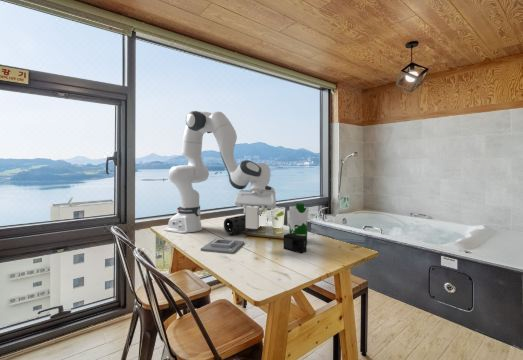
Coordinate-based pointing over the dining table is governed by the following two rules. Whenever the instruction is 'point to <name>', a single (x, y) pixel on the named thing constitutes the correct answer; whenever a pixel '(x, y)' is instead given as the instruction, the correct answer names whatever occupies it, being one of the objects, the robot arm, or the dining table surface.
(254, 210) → the charger brick
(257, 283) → the dining table surface
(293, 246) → the digital camera
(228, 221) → the muzzle brake
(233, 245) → the socket plate
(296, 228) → the milk carton
